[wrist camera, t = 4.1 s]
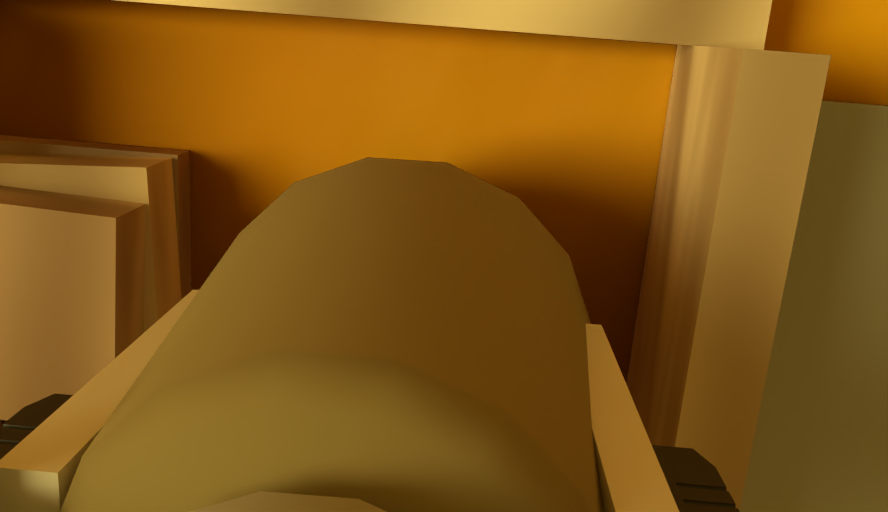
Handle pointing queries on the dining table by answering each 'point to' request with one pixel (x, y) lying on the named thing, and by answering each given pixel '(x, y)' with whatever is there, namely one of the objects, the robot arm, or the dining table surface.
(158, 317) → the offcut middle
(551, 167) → the dining table surface
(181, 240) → the offcut bottom
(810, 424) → the mat
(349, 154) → the dining table surface
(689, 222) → the rack
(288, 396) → the squeeze bottle
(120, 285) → the offcut top
